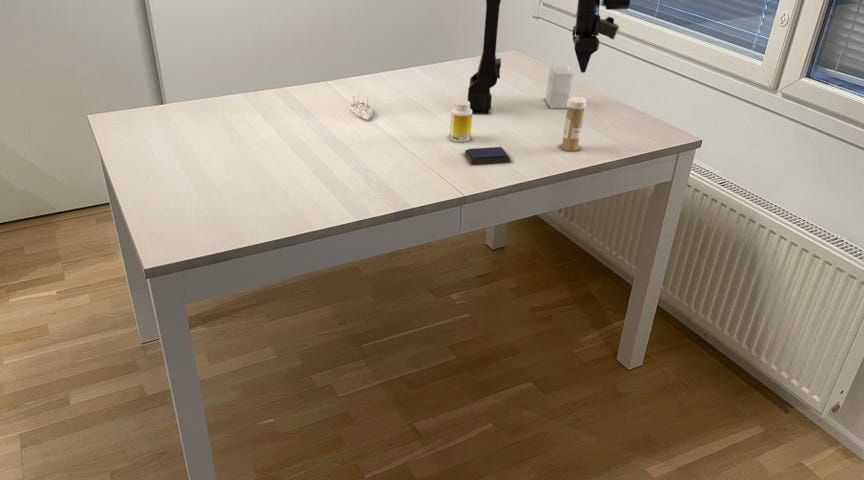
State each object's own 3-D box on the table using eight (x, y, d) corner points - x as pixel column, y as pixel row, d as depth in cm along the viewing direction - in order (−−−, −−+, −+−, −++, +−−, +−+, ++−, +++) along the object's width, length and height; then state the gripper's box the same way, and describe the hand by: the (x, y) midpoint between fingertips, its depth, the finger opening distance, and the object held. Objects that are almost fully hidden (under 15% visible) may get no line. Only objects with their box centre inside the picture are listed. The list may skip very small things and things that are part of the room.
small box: (568, 108, 215) (573, 74, 209) (549, 108, 215) (554, 73, 209) (563, 99, 222) (568, 65, 216) (545, 99, 222) (549, 65, 216)
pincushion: (377, 120, 206) (377, 101, 203) (356, 122, 205) (356, 103, 202) (364, 105, 216) (364, 87, 213) (345, 107, 214) (344, 89, 211)
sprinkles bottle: (577, 152, 189) (585, 103, 181) (559, 150, 190) (567, 101, 182) (579, 145, 192) (587, 97, 185) (561, 143, 193) (569, 95, 186)
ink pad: (471, 164, 182) (471, 158, 181) (464, 154, 187) (465, 148, 186) (509, 162, 183) (510, 156, 182) (501, 151, 189) (502, 145, 188)
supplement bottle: (473, 141, 194) (476, 104, 189) (455, 143, 193) (457, 107, 187) (464, 133, 199) (467, 97, 193) (446, 136, 197) (448, 99, 191)
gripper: (622, 16, 185) (615, 77, 193) (616, 3, 201) (609, 59, 209) (577, 17, 187) (572, 77, 195) (574, 3, 203) (569, 59, 211)
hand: (582, 68), depth 202 cm, fingers open, 9 cm apart
